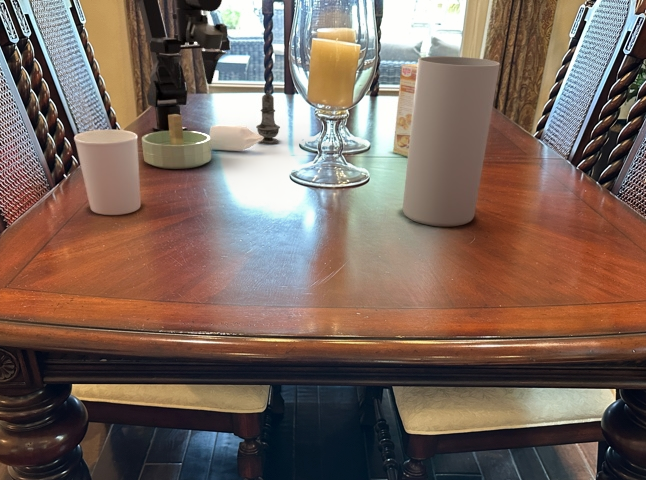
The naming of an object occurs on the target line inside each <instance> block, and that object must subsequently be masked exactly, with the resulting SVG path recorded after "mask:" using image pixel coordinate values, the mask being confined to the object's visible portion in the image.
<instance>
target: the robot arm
mask: <svg viewBox="0 0 646 480" xmlns="http://www.w3.org/2000/svg"><path fill="white" fill-rule="evenodd" d="M135 1H136V2H137V3H138V7H139V10H140V15H141V19H142V24H143V28H144V32H145V36H146V40H147V44H148V48H149V52H150V56H151V61H152V65H153V66H152V69H151V72H150V76H149V81H150V84H149V87H148V90H147V93H146V101H147V104H148V105H149V106H150V107H153V108H154V111H155V121H156V126H152V127H151V130H153V131H156V132H160V131H169V121H168V115H172V114H178V115H181V116H182V112H181V106H187V102H188V92H189V91H188V89H189V87H188V83H187V81H186V78H185V76H184V75H185V74H184V70H183V69H184V68H183V67H182V65H181V64H180V62H181V60H182V57H183V55H182V54H179V53H180V52H181V50H193V49H196V50H197V49H200V52H201V53H200V55H201V60H202V64H203V70H204V76H205V80H206V83H207V85H211V84H212V83H213V80H214V76H215V72H216V69H217V66H218V63H219V60H220V59H221V58H222V57H223V56H225V55H226V54H227V51H231V41H230V39H229V37H228V26H227V25H226V24H225V23H220V22H218V23H216V24H215V25H214V24H213V25H211V24H209V19H208V16H207V14H204V13H203V12H210V13H211V12H215V11H216V10H218V9H219V8H220V7H221V5H222V3H223V2H222V1H223V0H174V5H175V13H171V14H172V19H173V20H176V29H177V30H176V31H177V34H175V33H174V34H173V37H168V35H167V31H166V27H165V23H164V19H163V15H162V9H161V6H160V2H159V0H135ZM182 129H183V131H188V130H187V127H185V126H182Z"/></svg>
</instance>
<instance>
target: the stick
mask: <svg viewBox="0 0 646 480" xmlns="http://www.w3.org/2000/svg"><path fill="white" fill-rule="evenodd" d="M168 121H169V133H170V144H171V145H184V142H183V131H184V130H183V129H182V127H183V118H182V114H181V115H178V114H172V115H168Z"/></svg>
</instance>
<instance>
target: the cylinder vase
mask: <svg viewBox="0 0 646 480" xmlns="http://www.w3.org/2000/svg"><path fill="white" fill-rule="evenodd" d="M417 64H418V65H417V75H416V84H415V94H414V103H413V113H412V122H411V132H410V142H409V151H408V157H407V163H406V170H405V171H406V172H405V179H404V190H403V199H402V212H403V214H404V215H405V217H406V218H407V219H409V220H411V221H413V222H416V223H418V224H422V225H426V226H432V227H440V228H441V227H442V228H445V227H446V228H447V227H448V228H450V227H458V226H463V225H466V224H469V223H470V222H472V221H473V219H474V218H475V215H476V209H477V203H478V196H479V191H480V186H481V185H480V184H481V178H482V172H483V166H484V161H485V156H486V148H487V143H488V137H489V130H490V125H491V120H492V119H491V118H492V113H493V107H494V101H495V94H496V89H497V83H498V78H499V70H500V66H501V63H500V62H498V61H495V60H492V59H485V58H477V57H466V56H450V55H449V56H445V55H441V56H439V55H435V56H431V55H430V56H423V57H421V56H420V57H418V59H417Z"/></svg>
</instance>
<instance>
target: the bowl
mask: <svg viewBox="0 0 646 480" xmlns="http://www.w3.org/2000/svg"><path fill="white" fill-rule="evenodd" d="M183 142H184V145H171V144H170V133H169V131H155V132H150V133H147V134H144V135H143V136H141V145H142V154H143V161H144V162H145V163H146V164H149V165H151V166H153V167H157V168H160V169H167V170H168V169H169V170H181V169H183V170H184V169H185V170H186V169H193V168H198V167H201V166H204V165H205V164H207V163H209V162H210V161H211V160H212V149H211V142H210V137H209V134H206V133H203V132H200V131H193V130H183Z"/></svg>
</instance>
